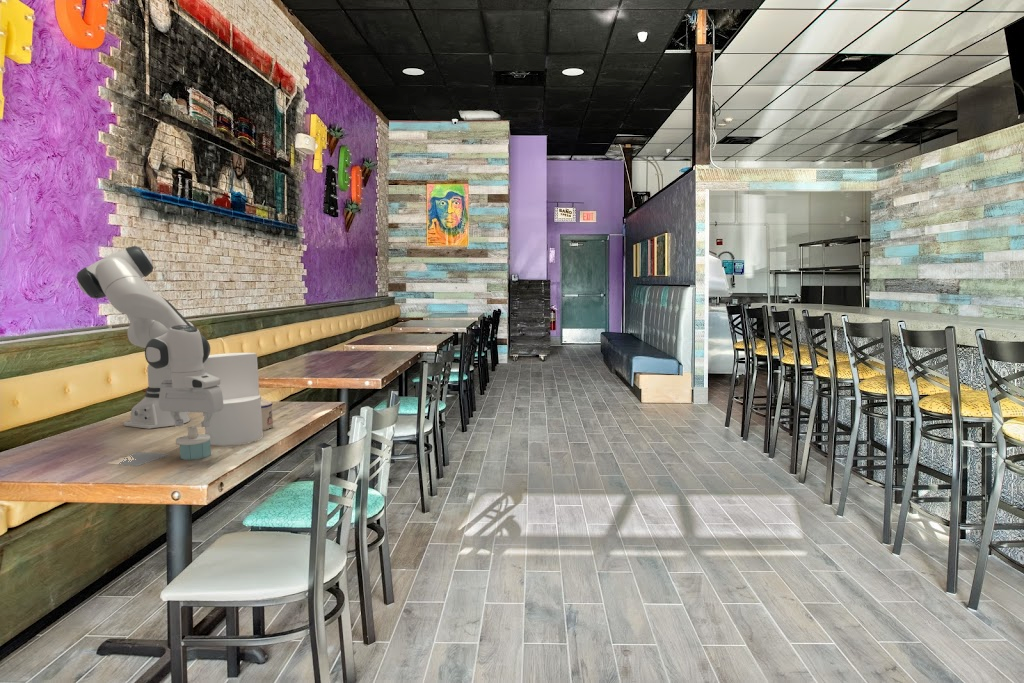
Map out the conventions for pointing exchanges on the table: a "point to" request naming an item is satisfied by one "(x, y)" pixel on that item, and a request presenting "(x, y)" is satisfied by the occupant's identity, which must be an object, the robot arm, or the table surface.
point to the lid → (193, 437)
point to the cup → (195, 451)
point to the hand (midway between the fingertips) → (192, 426)
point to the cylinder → (235, 399)
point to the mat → (142, 458)
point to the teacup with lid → (266, 414)
